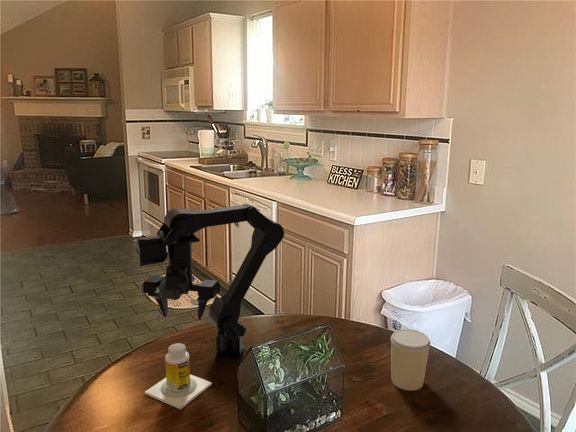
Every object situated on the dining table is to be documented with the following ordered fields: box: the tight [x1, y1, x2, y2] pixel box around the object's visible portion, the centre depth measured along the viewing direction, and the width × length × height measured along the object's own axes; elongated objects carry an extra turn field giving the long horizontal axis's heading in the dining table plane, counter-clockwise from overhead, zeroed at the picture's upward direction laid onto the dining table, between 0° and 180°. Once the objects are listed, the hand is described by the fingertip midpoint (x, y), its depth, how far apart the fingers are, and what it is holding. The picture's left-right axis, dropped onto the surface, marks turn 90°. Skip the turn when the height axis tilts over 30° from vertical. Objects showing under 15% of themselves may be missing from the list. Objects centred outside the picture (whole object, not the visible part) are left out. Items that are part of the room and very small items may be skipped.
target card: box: [144, 373, 213, 410], centre depth 113 cm, size 11×11×1 cm
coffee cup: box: [390, 328, 431, 391], centre depth 116 cm, size 9×9×12 cm
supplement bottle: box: [164, 342, 191, 392], centre depth 112 cm, size 6×6×10 cm
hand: (182, 317), depth 121 cm, fingers open, 9 cm apart
